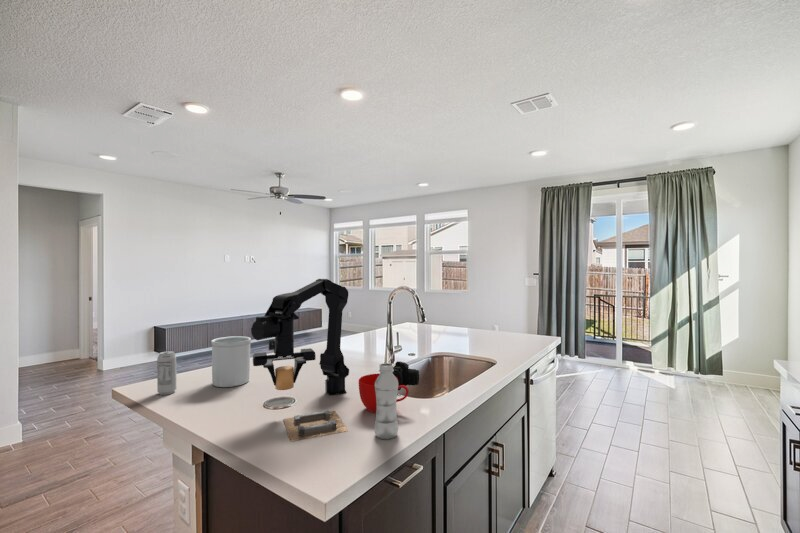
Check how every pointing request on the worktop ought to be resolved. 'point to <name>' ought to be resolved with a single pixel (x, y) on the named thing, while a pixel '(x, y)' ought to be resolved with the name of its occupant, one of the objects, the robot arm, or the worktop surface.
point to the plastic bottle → (386, 403)
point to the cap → (284, 377)
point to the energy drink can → (166, 373)
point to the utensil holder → (230, 361)
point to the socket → (314, 425)
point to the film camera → (405, 374)
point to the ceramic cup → (372, 391)
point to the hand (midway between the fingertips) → (284, 383)
